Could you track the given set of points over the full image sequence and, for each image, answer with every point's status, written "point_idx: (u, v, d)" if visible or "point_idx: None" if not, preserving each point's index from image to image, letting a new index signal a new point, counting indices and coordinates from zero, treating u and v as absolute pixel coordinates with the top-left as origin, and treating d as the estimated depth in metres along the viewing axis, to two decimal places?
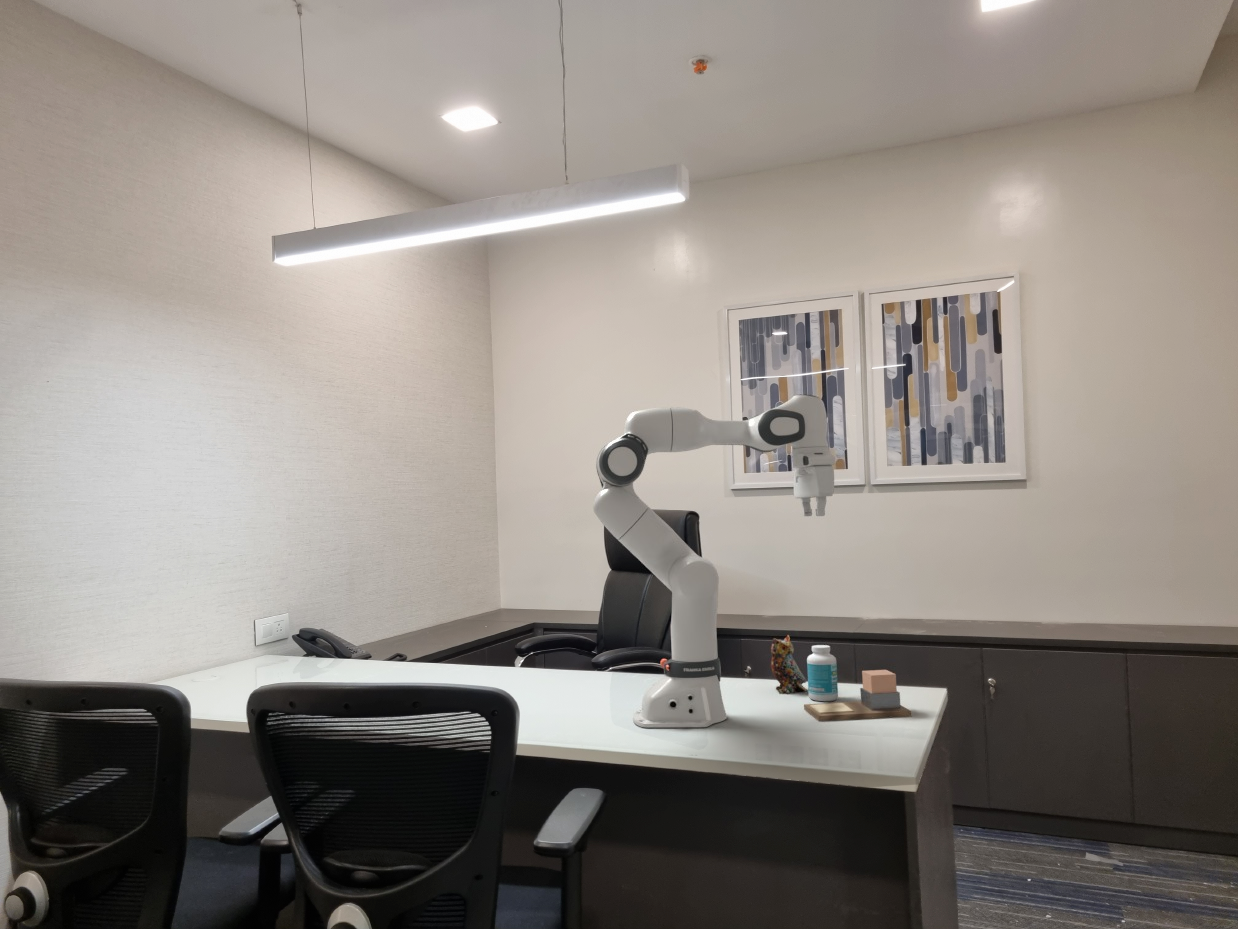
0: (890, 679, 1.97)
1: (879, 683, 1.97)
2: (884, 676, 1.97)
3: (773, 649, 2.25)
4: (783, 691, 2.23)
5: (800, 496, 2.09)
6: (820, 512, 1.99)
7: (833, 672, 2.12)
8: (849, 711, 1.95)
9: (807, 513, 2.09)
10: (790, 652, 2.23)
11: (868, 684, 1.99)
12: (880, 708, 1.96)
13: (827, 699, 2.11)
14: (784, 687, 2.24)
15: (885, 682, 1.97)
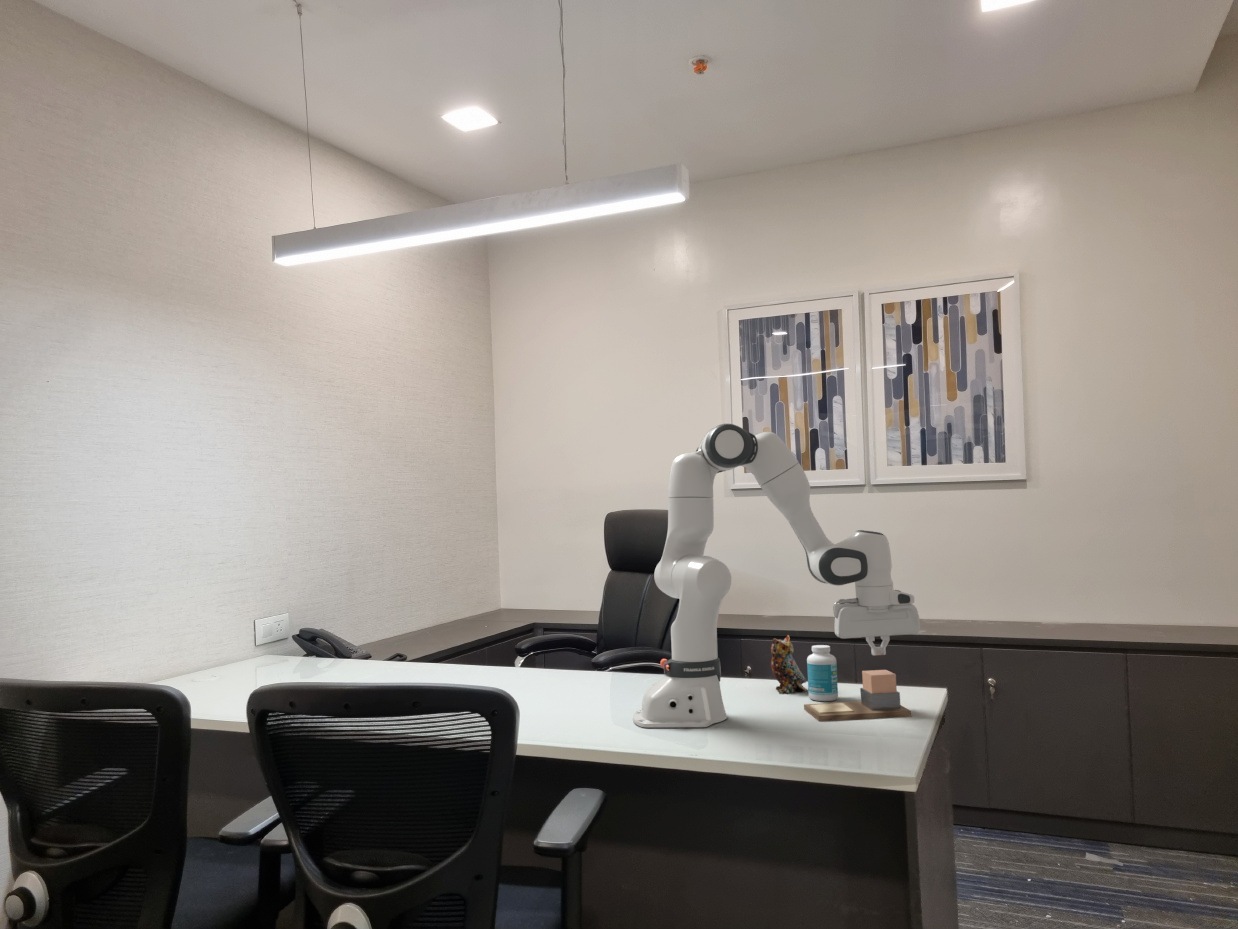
0: (890, 679, 1.97)
1: (879, 683, 1.97)
2: (884, 676, 1.97)
3: (773, 649, 2.25)
4: (783, 691, 2.23)
5: (862, 635, 1.99)
6: None
7: (833, 672, 2.12)
8: (849, 711, 1.95)
9: None
10: (790, 652, 2.23)
11: (868, 684, 1.99)
12: (880, 708, 1.96)
13: (827, 699, 2.11)
14: (784, 687, 2.24)
15: (885, 682, 1.97)
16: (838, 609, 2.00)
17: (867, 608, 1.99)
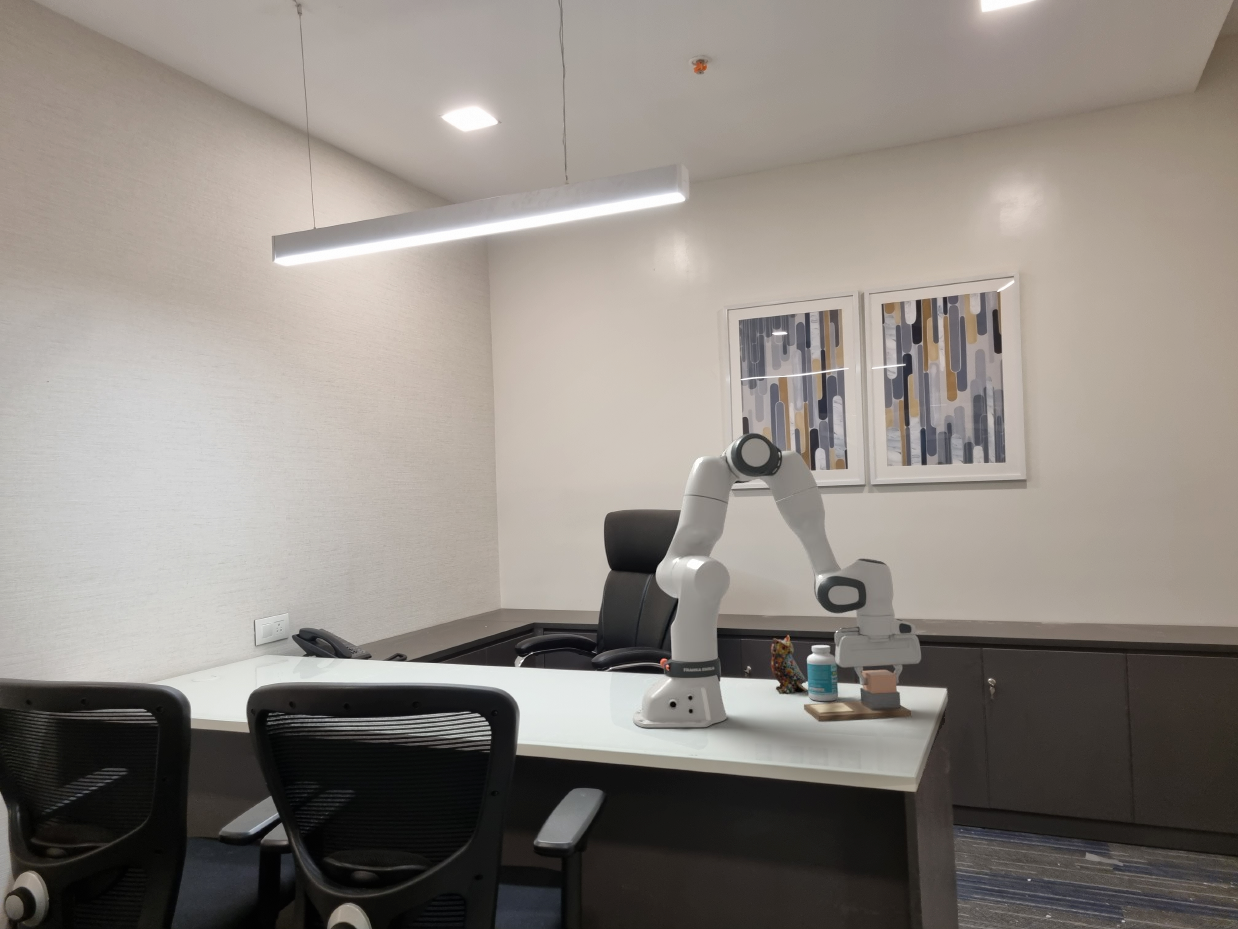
0: (890, 679, 1.97)
1: (879, 683, 1.97)
2: (884, 676, 1.97)
3: (773, 649, 2.25)
4: (783, 691, 2.23)
5: (862, 665, 1.98)
6: None
7: (833, 672, 2.12)
8: (849, 711, 1.95)
9: None
10: (790, 652, 2.23)
11: (868, 684, 1.99)
12: (880, 708, 1.96)
13: (827, 699, 2.11)
14: (784, 687, 2.24)
15: (885, 682, 1.97)
16: (839, 638, 2.00)
17: (868, 637, 1.99)
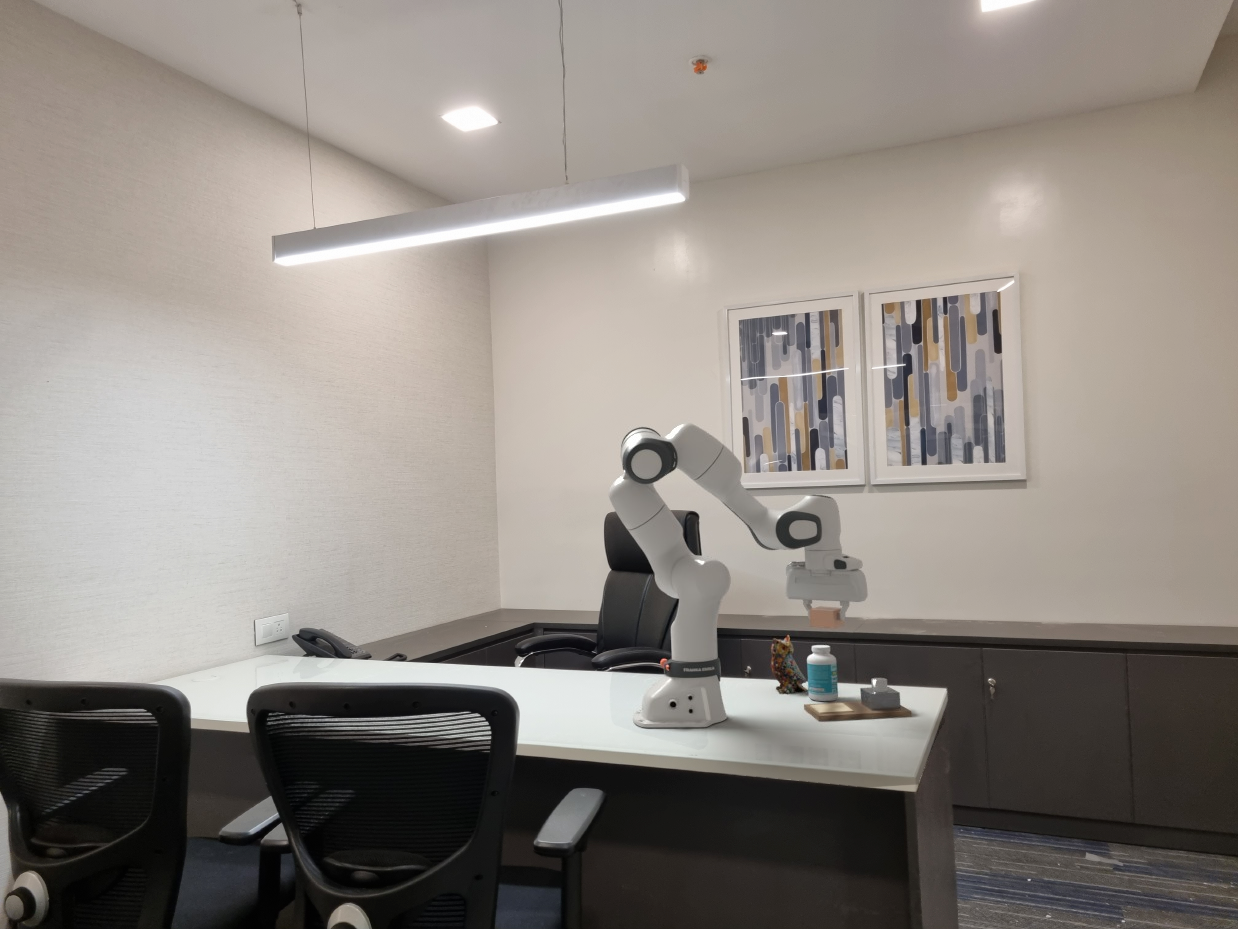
0: (828, 615, 1.97)
1: (817, 617, 1.99)
2: (822, 611, 1.98)
3: (773, 649, 2.25)
4: (783, 691, 2.23)
5: (805, 598, 2.02)
6: (843, 616, 1.97)
7: (833, 672, 2.12)
8: (849, 711, 1.95)
9: None
10: (790, 652, 2.23)
11: None
12: (880, 708, 1.96)
13: (827, 699, 2.11)
14: (784, 687, 2.24)
15: (823, 617, 1.98)
16: (789, 571, 2.07)
17: (810, 571, 2.01)
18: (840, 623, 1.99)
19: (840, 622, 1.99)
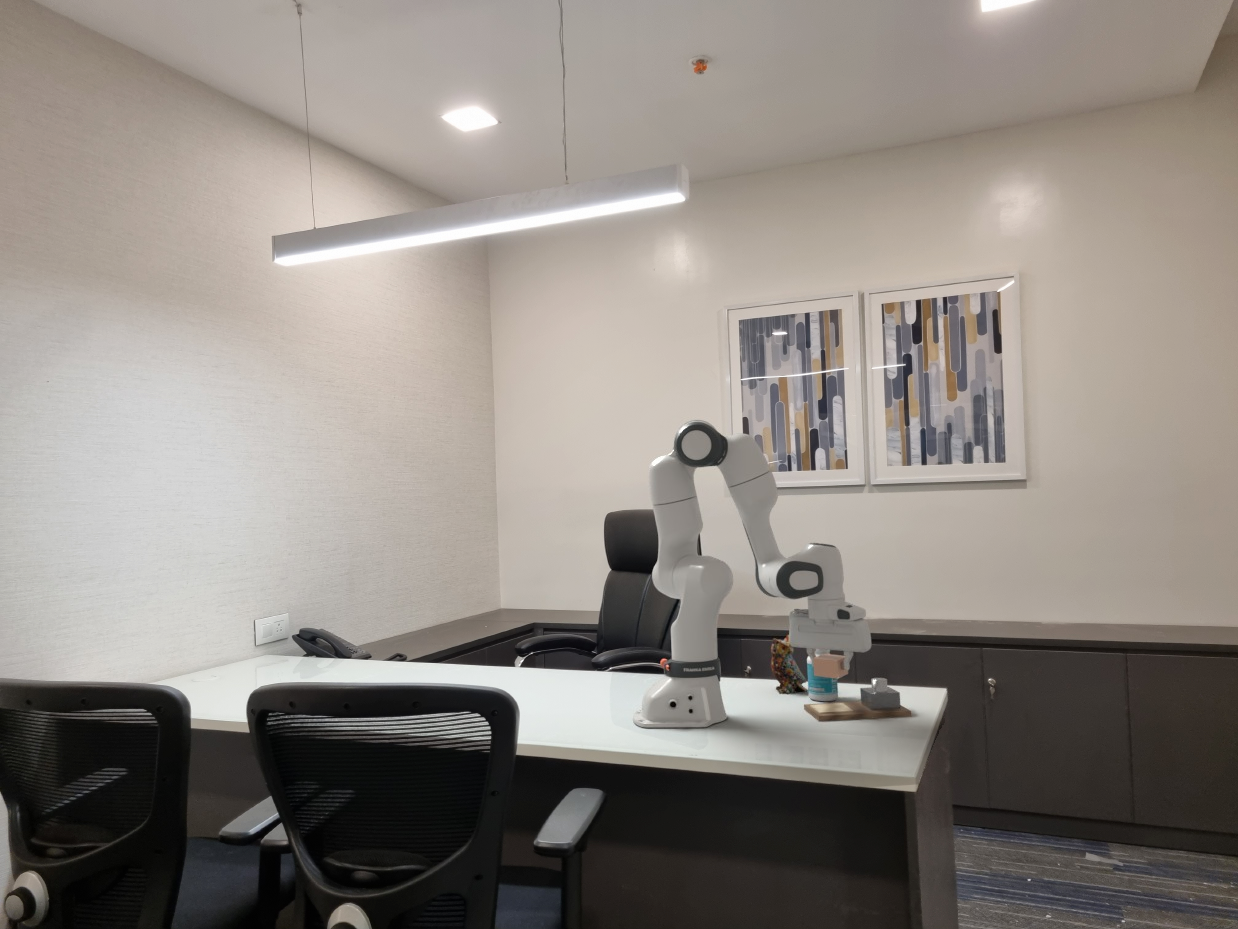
0: (831, 665, 1.96)
1: (821, 667, 1.98)
2: (826, 661, 1.97)
3: (773, 649, 2.25)
4: (783, 691, 2.23)
5: (809, 646, 2.01)
6: (847, 666, 1.96)
7: None
8: (849, 711, 1.95)
9: None
10: (790, 652, 2.23)
11: None
12: (880, 708, 1.96)
13: (827, 699, 2.11)
14: (784, 687, 2.24)
15: (827, 667, 1.97)
16: (792, 618, 2.06)
17: (813, 620, 2.01)
18: (844, 672, 1.99)
19: (844, 671, 1.99)
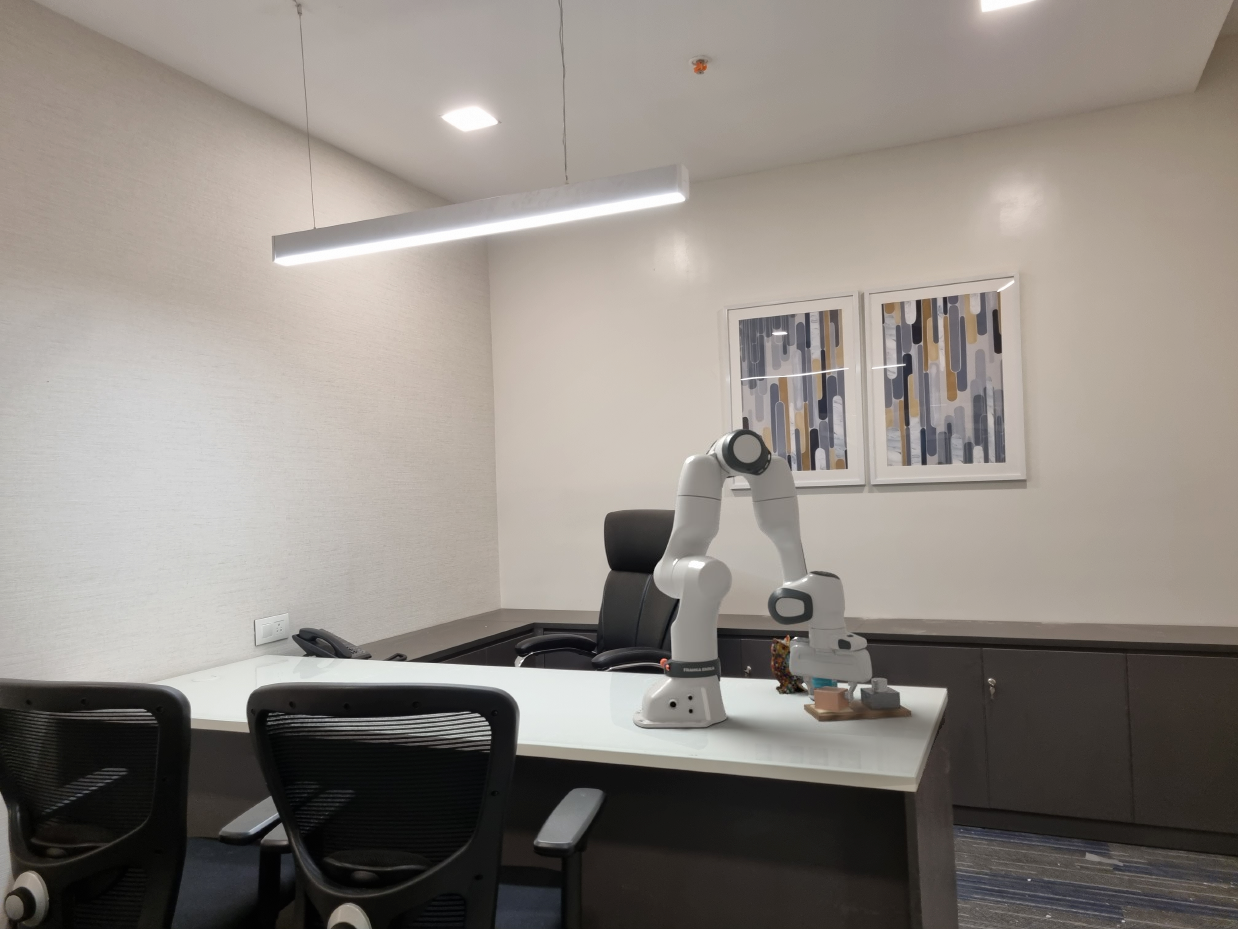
0: (832, 697, 1.96)
1: (821, 699, 1.98)
2: (826, 693, 1.97)
3: (773, 649, 2.25)
4: (783, 691, 2.23)
5: (809, 675, 2.01)
6: (851, 696, 1.95)
7: None
8: (849, 711, 1.95)
9: None
10: None
11: None
12: (880, 708, 1.96)
13: None
14: (784, 687, 2.24)
15: (827, 699, 1.97)
16: (793, 646, 2.06)
17: (814, 649, 2.00)
18: (845, 705, 1.98)
19: (845, 704, 1.98)
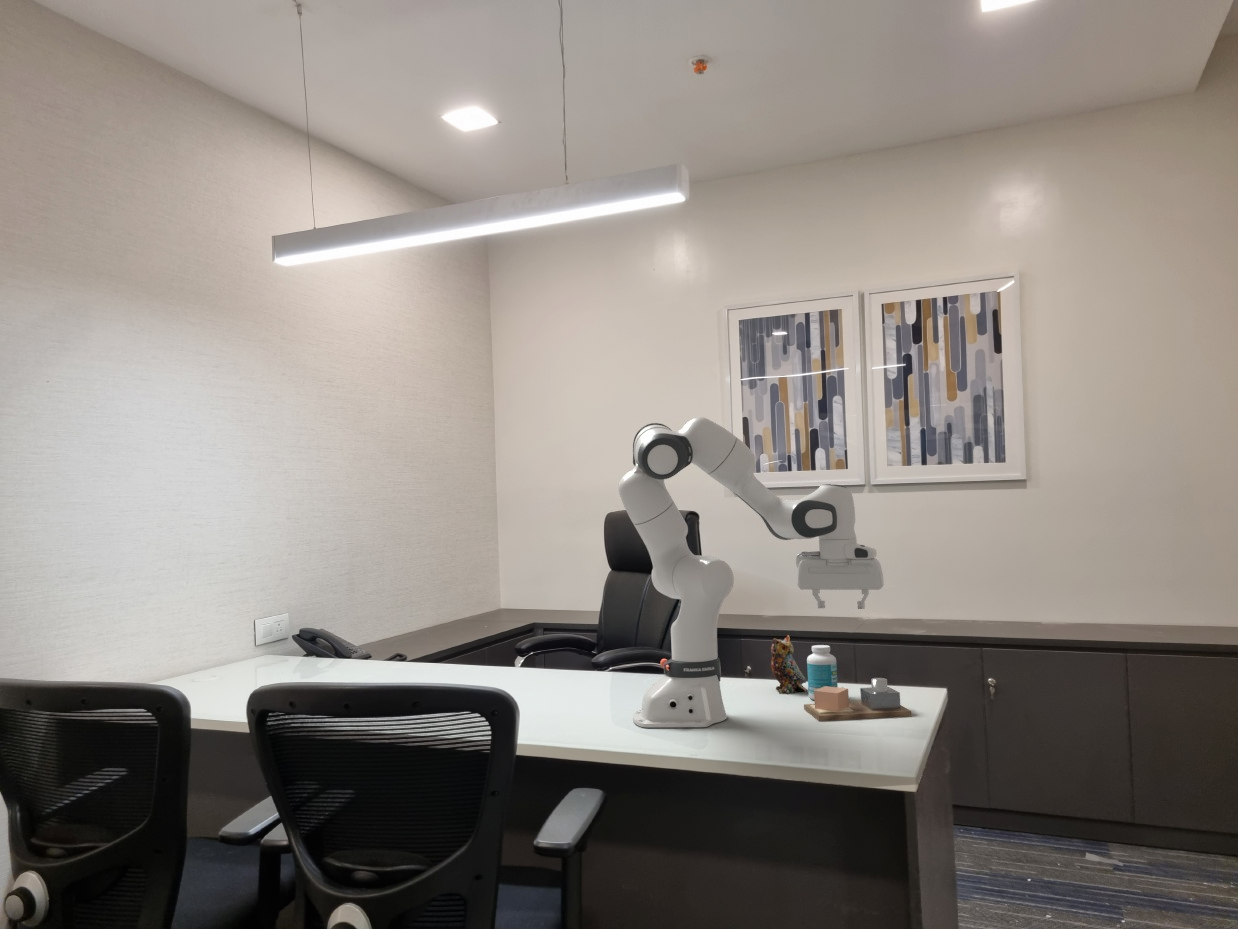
0: (832, 697, 1.96)
1: (821, 699, 1.98)
2: (826, 693, 1.97)
3: (773, 649, 2.25)
4: (783, 691, 2.23)
5: (820, 588, 2.02)
6: (864, 605, 1.99)
7: (833, 672, 2.12)
8: (849, 711, 1.95)
9: (823, 605, 2.03)
10: (790, 652, 2.23)
11: None
12: (880, 708, 1.96)
13: None
14: (784, 687, 2.24)
15: (827, 699, 1.97)
16: (800, 561, 2.05)
17: (826, 561, 2.01)
18: (845, 705, 1.98)
19: (845, 704, 1.98)
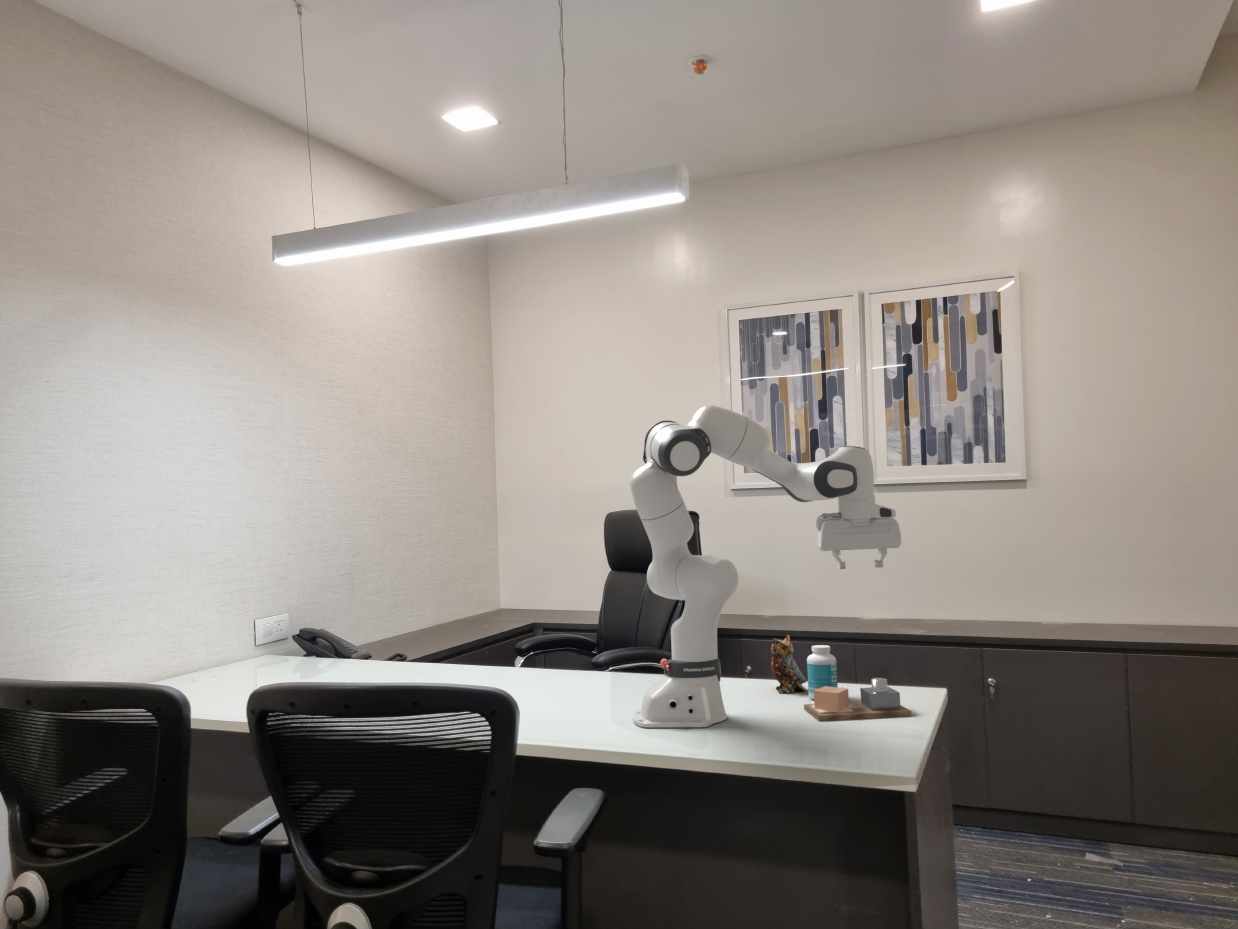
0: (832, 697, 1.96)
1: (821, 699, 1.98)
2: (826, 693, 1.97)
3: (773, 649, 2.25)
4: (783, 691, 2.23)
5: (844, 548, 2.03)
6: None
7: (833, 672, 2.12)
8: (849, 711, 1.95)
9: None
10: (790, 652, 2.23)
11: None
12: (880, 708, 1.96)
13: None
14: (784, 687, 2.24)
15: (827, 699, 1.97)
16: (821, 523, 2.04)
17: (849, 521, 2.03)
18: (845, 705, 1.98)
19: (845, 704, 1.98)
